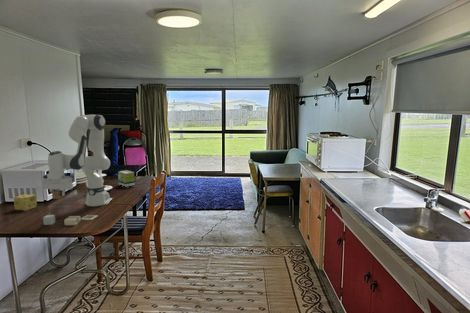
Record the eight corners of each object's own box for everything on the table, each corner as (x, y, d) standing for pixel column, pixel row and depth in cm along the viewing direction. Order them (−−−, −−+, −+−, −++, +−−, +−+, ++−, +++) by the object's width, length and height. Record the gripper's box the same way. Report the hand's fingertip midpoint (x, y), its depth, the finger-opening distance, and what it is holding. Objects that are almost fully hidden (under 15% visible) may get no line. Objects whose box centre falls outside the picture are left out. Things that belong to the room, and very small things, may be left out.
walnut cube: (57, 196, 202) (57, 189, 202) (64, 196, 202) (63, 189, 201) (52, 198, 197) (51, 191, 197) (59, 198, 197) (58, 191, 196)
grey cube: (47, 222, 197) (46, 215, 196) (55, 221, 198) (54, 214, 197) (43, 225, 192) (43, 217, 191) (52, 224, 193) (51, 217, 192)
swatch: (87, 215, 210) (87, 214, 210) (98, 216, 209) (98, 214, 209) (80, 219, 202) (80, 218, 202) (91, 219, 202) (91, 218, 201)
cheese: (26, 211, 219) (24, 198, 218) (13, 210, 221) (12, 197, 220) (37, 206, 229) (36, 194, 228) (25, 206, 231) (24, 193, 230)
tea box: (118, 185, 300) (117, 171, 298) (127, 183, 308) (126, 169, 306) (125, 187, 290) (125, 173, 288) (135, 186, 298) (134, 171, 296)
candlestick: (92, 188, 288) (90, 160, 284) (116, 188, 286) (115, 160, 282) (79, 193, 268) (77, 163, 264) (105, 194, 266) (104, 164, 262)
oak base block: (70, 221, 199) (69, 216, 198) (80, 221, 199) (80, 215, 199) (64, 225, 192) (64, 219, 191) (75, 225, 192) (75, 219, 192)
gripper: (74, 175, 200) (75, 194, 202) (46, 174, 202) (48, 193, 204) (68, 176, 193) (69, 197, 195) (39, 176, 195) (41, 196, 197)
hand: (58, 195), depth 199 cm, fingers closed on walnut cube, 5 cm apart
